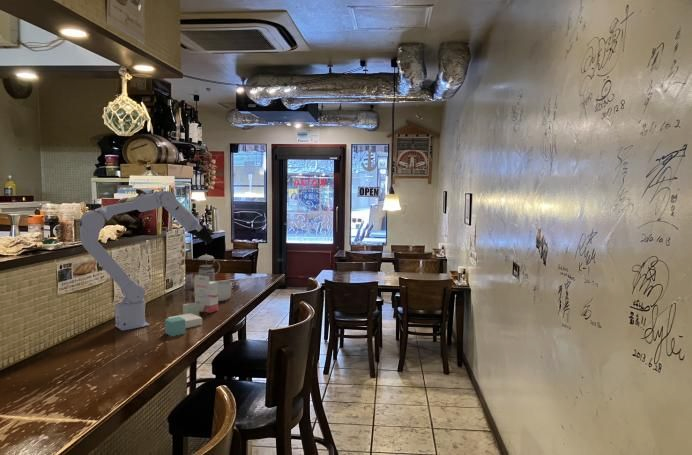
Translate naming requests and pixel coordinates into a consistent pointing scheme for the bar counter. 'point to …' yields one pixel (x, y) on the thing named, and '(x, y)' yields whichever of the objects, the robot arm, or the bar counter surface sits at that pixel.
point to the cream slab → (190, 320)
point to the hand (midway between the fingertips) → (208, 240)
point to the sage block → (191, 308)
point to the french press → (205, 267)
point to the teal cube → (175, 326)
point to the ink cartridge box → (206, 294)
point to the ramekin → (224, 290)
